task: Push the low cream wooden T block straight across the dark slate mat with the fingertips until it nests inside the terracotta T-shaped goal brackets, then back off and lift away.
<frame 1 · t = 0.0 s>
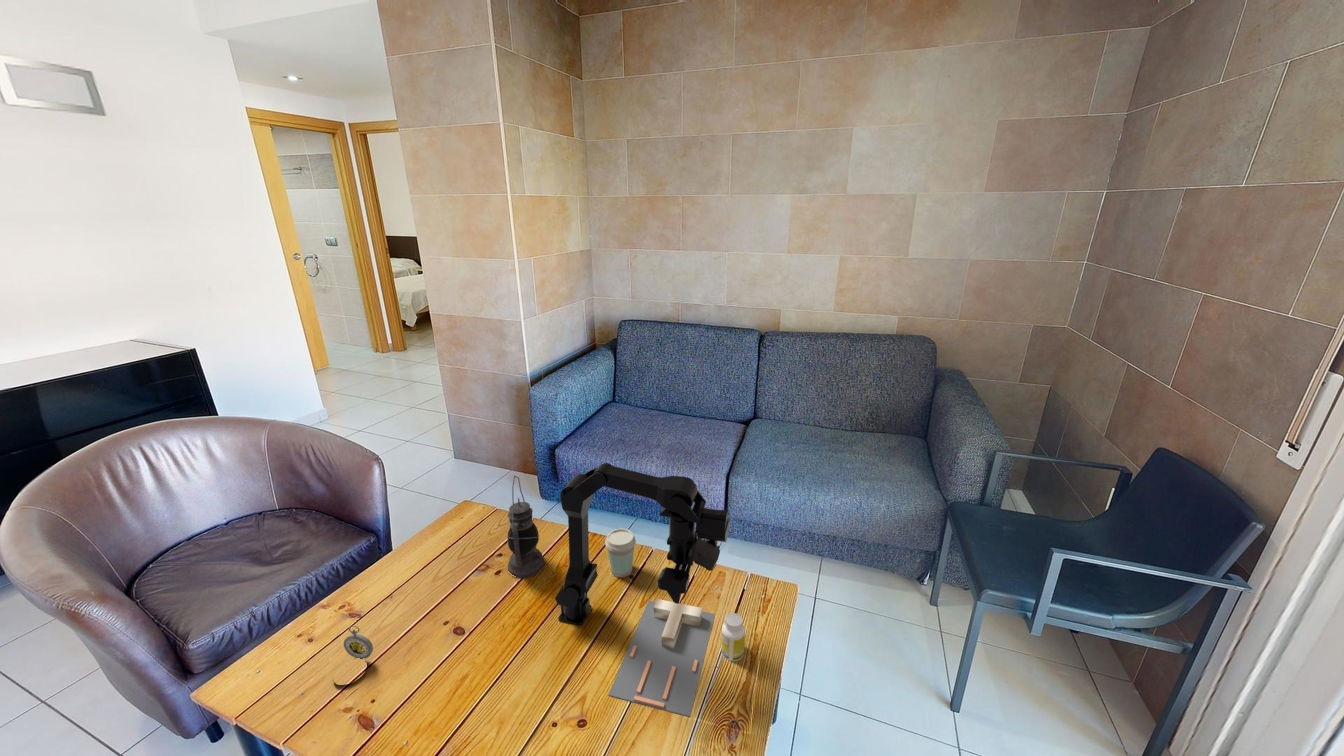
hand: (681, 588, 115), 15 cm above the table, tool pointing down, fingers open, 9 cm apart
coffee cup: (621, 571, 142), on the table
t block: (675, 624, 123), resting on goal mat
lantern: (526, 566, 145), on the table
supplement bottle: (732, 653, 116), on the table
pocket watch: (355, 670, 112), on the table
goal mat: (666, 652, 116), on the table
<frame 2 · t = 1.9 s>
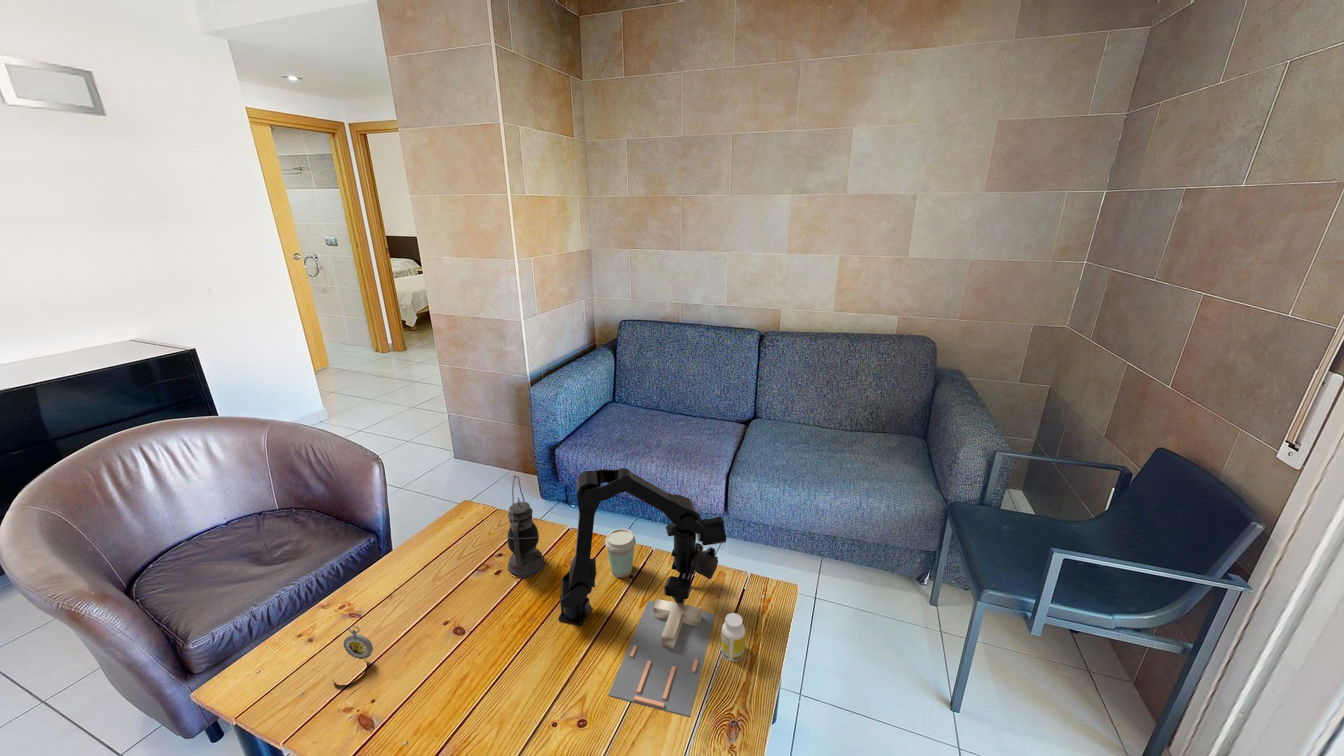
hand: (684, 594, 132), 1 cm above the table, tool pointing down, fingers open, 8 cm apart
t block: (675, 624, 123), resting on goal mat, touching gripper
everything else where it was.
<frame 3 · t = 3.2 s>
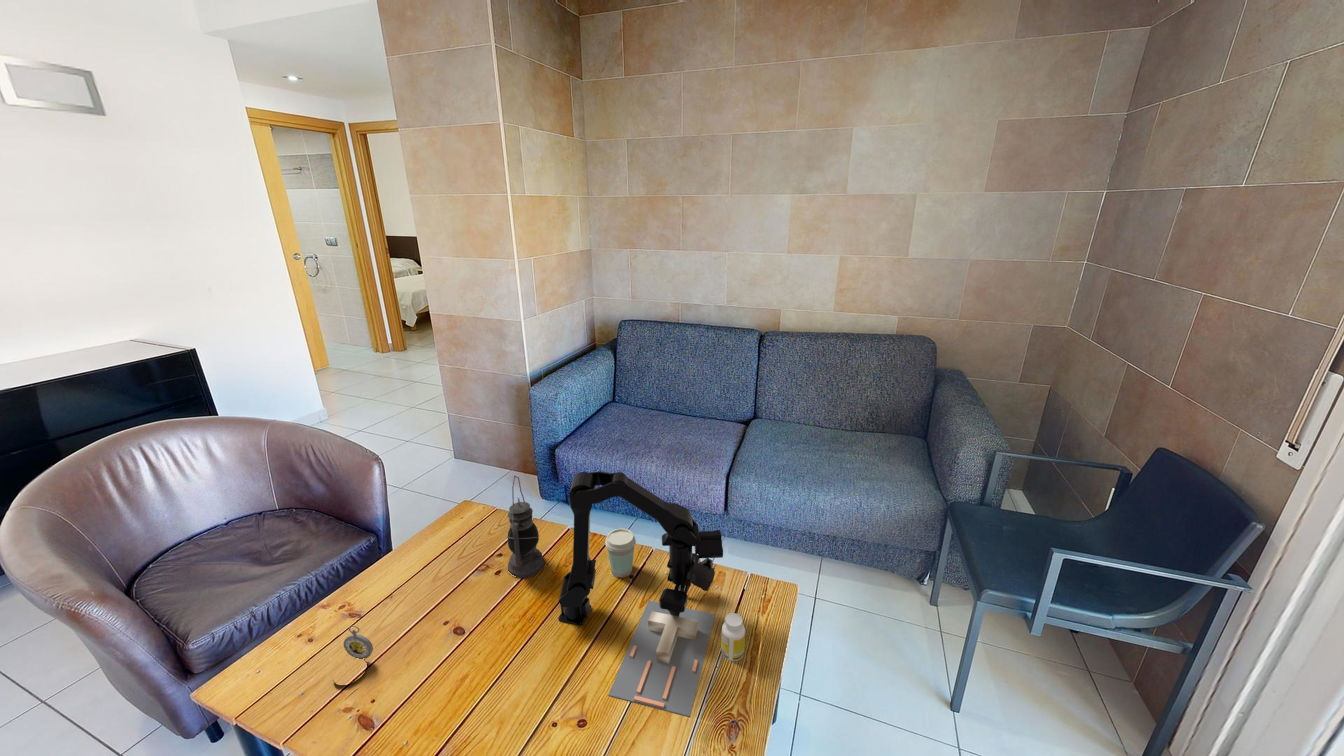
hand: (680, 606, 128), 1 cm above the table, tool pointing down, fingers open, 8 cm apart
t block: (670, 638, 119), resting on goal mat, touching gripper
everything else where it was.
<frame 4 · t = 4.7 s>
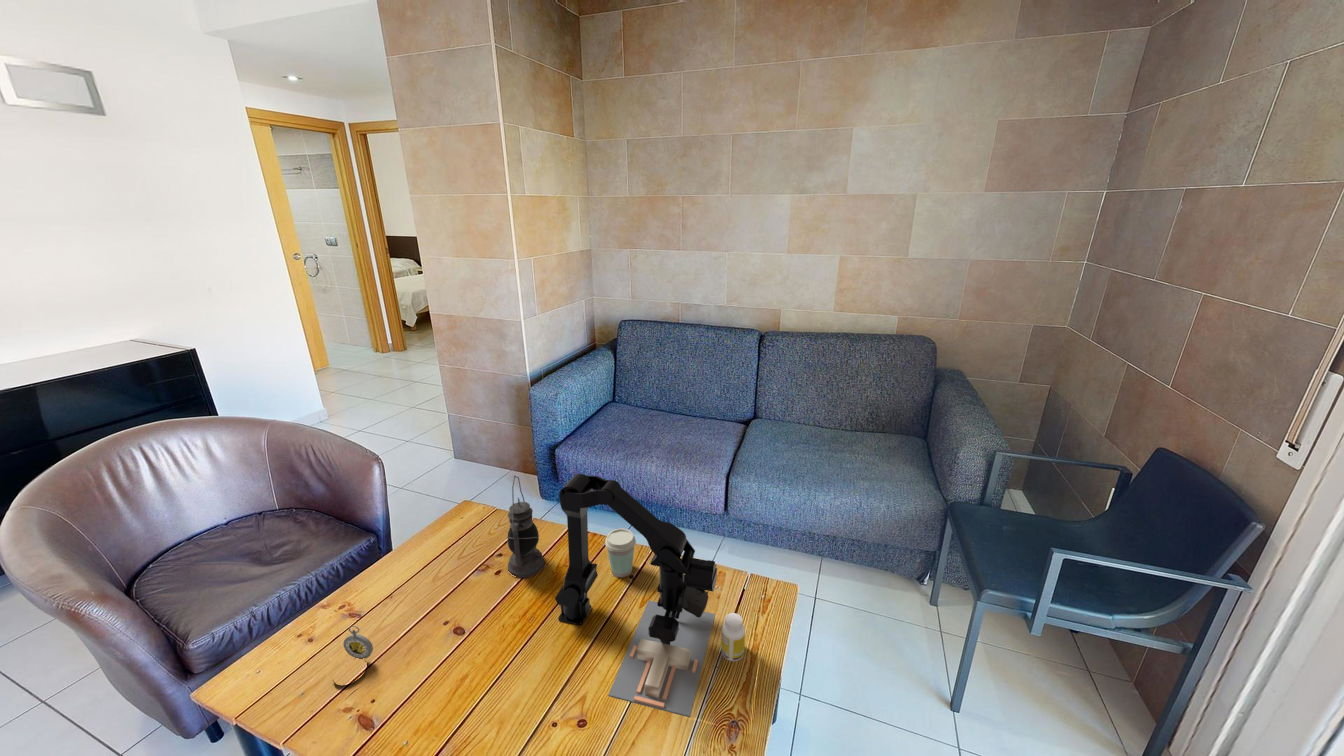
hand: (672, 632, 120), 1 cm above the table, tool pointing down, fingers open, 9 cm apart
t block: (660, 668, 111), resting on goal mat, touching gripper
everything else where it was.
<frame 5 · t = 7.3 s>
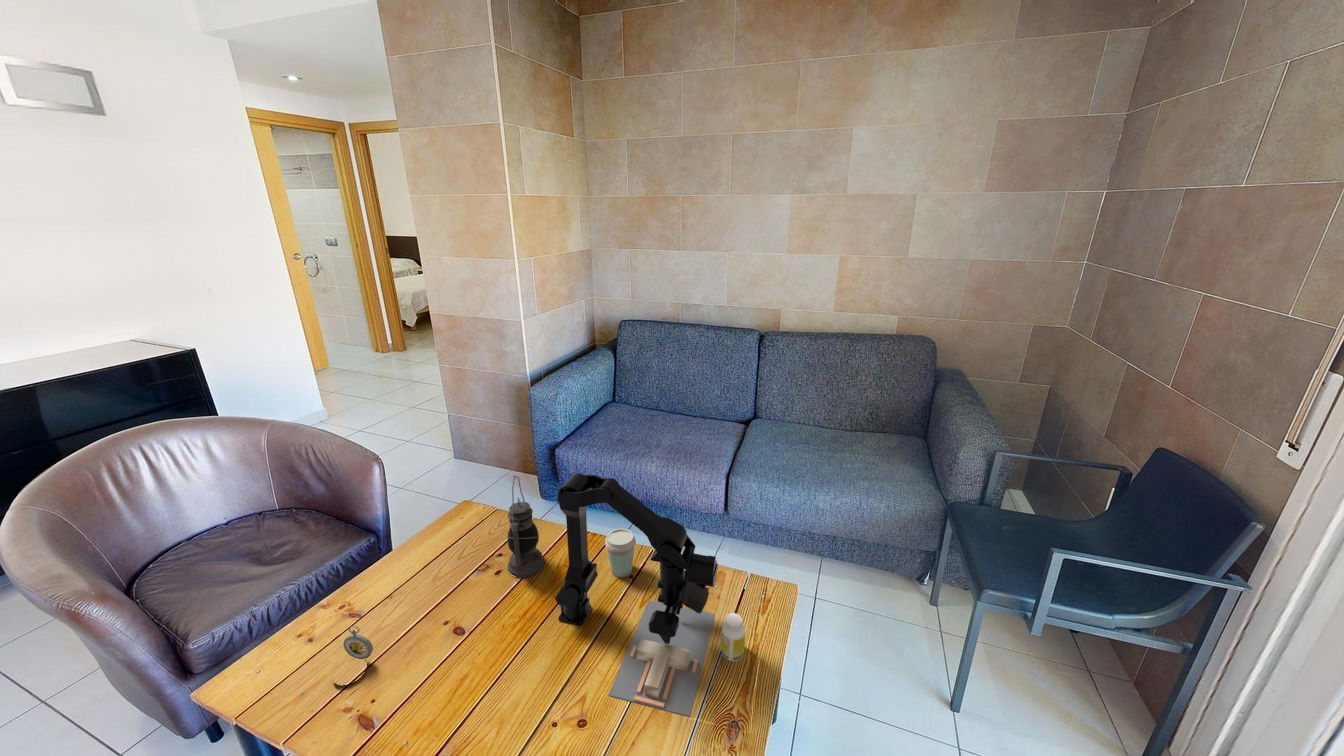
hand: (672, 628, 120), 2 cm above the table, tool pointing down, fingers open, 9 cm apart
t block: (660, 668, 111), resting on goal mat
everything else where it was.
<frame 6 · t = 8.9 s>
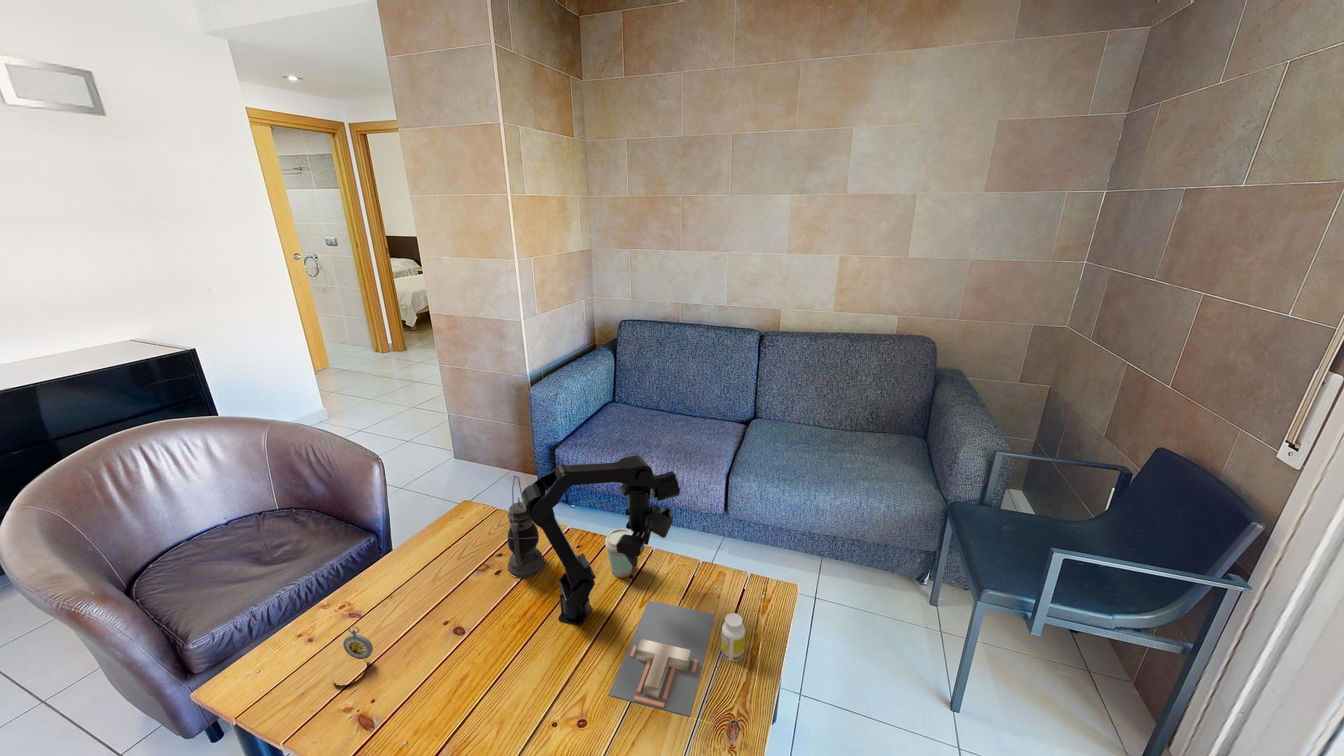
hand: (640, 555, 131), 12 cm above the table, tool pointing down, fingers open, 9 cm apart
nothing on the table moved.
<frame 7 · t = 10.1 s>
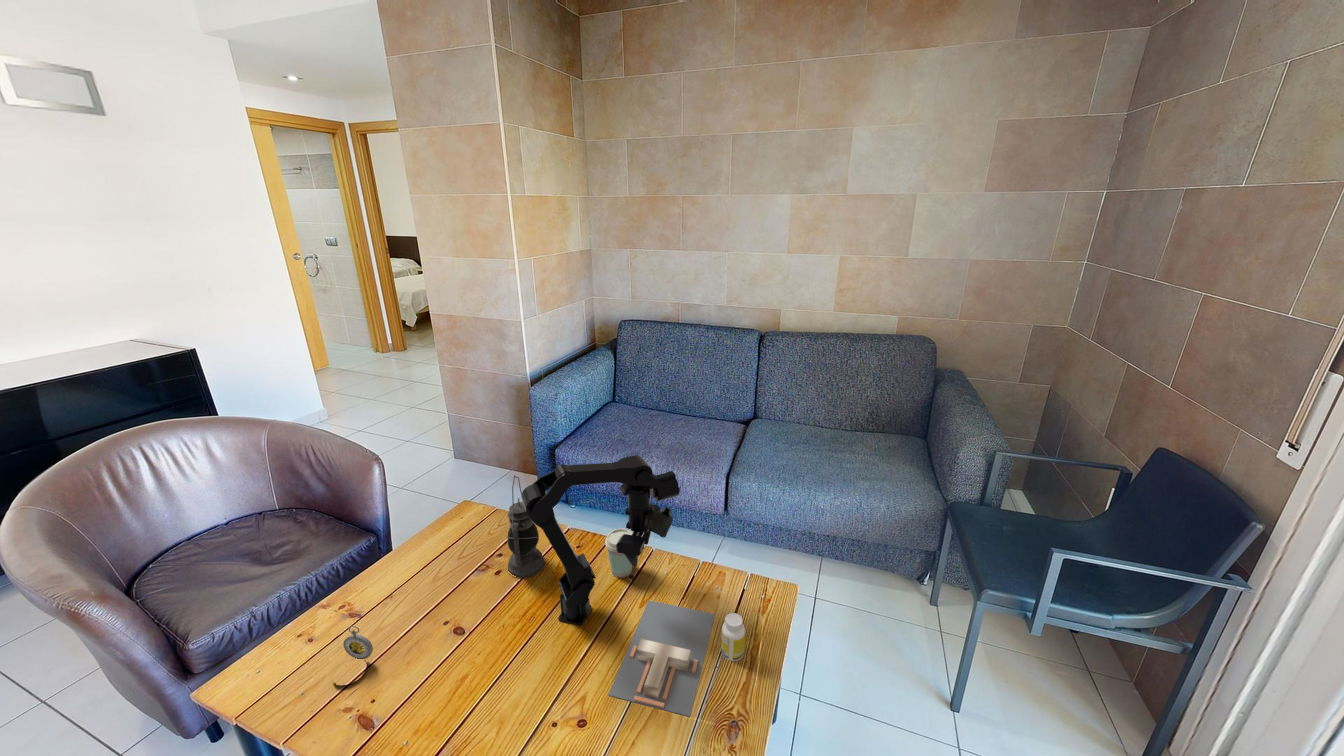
hand: (640, 554, 131), 12 cm above the table, tool pointing down, fingers open, 9 cm apart
nothing on the table moved.
at the end: t block 0.1 cm from the target spot, resting on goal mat; t block tilted 0° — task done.
